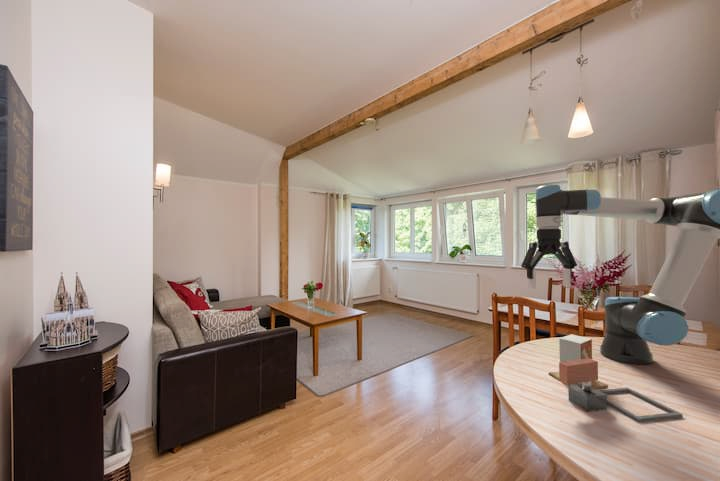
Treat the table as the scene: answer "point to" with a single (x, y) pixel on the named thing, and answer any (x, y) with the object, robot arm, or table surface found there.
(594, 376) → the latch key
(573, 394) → the key housing
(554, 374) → the cork pad
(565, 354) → the small box
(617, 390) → the seat rim
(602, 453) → the table surface
